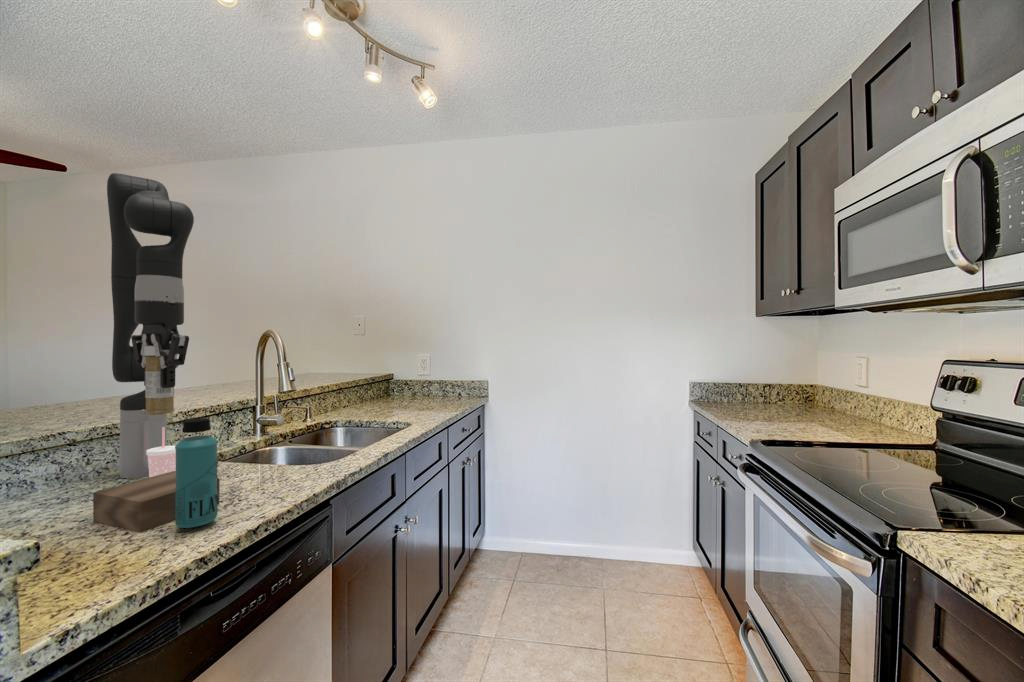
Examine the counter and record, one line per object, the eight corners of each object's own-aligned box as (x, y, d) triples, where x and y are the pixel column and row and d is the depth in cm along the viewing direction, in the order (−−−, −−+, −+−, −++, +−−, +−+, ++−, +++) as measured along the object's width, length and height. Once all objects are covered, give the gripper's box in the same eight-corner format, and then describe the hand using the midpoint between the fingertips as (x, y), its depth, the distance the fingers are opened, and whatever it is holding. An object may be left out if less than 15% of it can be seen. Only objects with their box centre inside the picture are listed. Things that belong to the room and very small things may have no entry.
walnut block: (93, 524, 80) (93, 492, 80) (174, 498, 93) (174, 470, 93) (141, 536, 75) (141, 502, 75) (219, 507, 88) (219, 478, 88)
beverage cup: (153, 484, 101) (153, 425, 101) (184, 481, 103) (184, 423, 103) (140, 493, 95) (140, 430, 95) (173, 490, 97) (173, 428, 97)
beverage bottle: (183, 540, 73) (183, 423, 73) (167, 531, 76) (167, 419, 76) (225, 526, 78) (225, 417, 78) (208, 518, 82) (208, 414, 82)
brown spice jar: (174, 410, 87) (174, 345, 87) (174, 413, 84) (174, 345, 84) (144, 413, 84) (144, 345, 84) (143, 416, 81) (143, 345, 81)
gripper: (114, 299, 83) (114, 387, 83) (162, 297, 78) (162, 390, 78) (158, 302, 90) (157, 383, 90) (204, 301, 85) (204, 386, 85)
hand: (159, 386), depth 84 cm, fingers closed on brown spice jar, 4 cm apart
